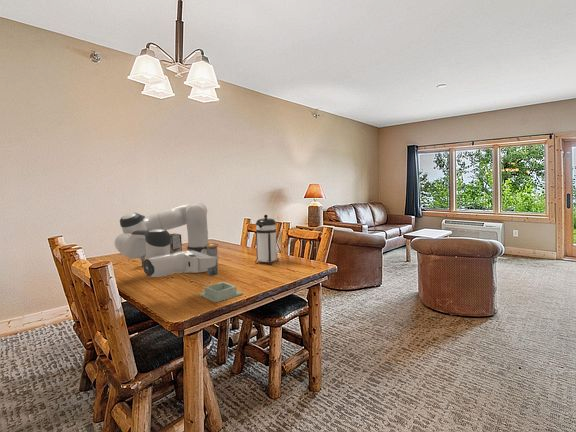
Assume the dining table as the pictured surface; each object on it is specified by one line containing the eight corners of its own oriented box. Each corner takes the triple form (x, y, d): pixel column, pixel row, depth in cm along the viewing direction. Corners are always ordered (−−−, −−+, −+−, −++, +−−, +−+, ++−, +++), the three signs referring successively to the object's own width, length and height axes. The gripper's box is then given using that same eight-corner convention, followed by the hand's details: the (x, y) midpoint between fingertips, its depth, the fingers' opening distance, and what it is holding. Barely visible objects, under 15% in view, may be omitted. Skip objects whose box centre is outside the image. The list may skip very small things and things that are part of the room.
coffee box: (182, 258, 207) (181, 234, 205) (173, 260, 202) (172, 235, 201) (176, 256, 213) (175, 233, 212) (167, 257, 209) (165, 234, 207)
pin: (204, 274, 142) (204, 244, 140) (214, 272, 145) (214, 242, 144) (210, 276, 138) (209, 245, 137) (220, 274, 142) (220, 244, 140)
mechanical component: (134, 268, 183) (133, 252, 182) (148, 264, 192) (147, 248, 191) (138, 269, 182) (137, 252, 180) (152, 264, 191) (151, 249, 190)
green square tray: (198, 294, 138) (198, 287, 138) (225, 287, 148) (224, 279, 148) (215, 303, 128) (215, 294, 128) (242, 294, 138) (242, 286, 138)
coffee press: (283, 264, 188) (282, 215, 185) (257, 266, 184) (256, 216, 181) (276, 257, 205) (275, 212, 202) (252, 259, 200) (250, 213, 197)
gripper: (175, 263, 140) (203, 258, 149) (196, 273, 125) (226, 267, 134) (174, 250, 139) (202, 245, 148) (196, 257, 124) (226, 252, 134)
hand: (214, 256), depth 141 cm, fingers closed on pin, 4 cm apart
